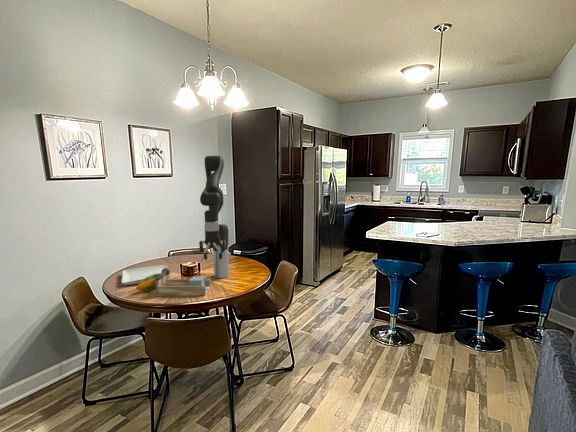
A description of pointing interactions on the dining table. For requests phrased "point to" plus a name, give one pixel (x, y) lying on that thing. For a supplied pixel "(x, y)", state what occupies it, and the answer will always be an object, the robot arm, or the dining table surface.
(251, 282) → the dining table surface
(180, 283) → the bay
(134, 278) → the square plate
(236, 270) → the dining table surface
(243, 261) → the dining table surface
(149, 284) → the corn
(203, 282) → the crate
